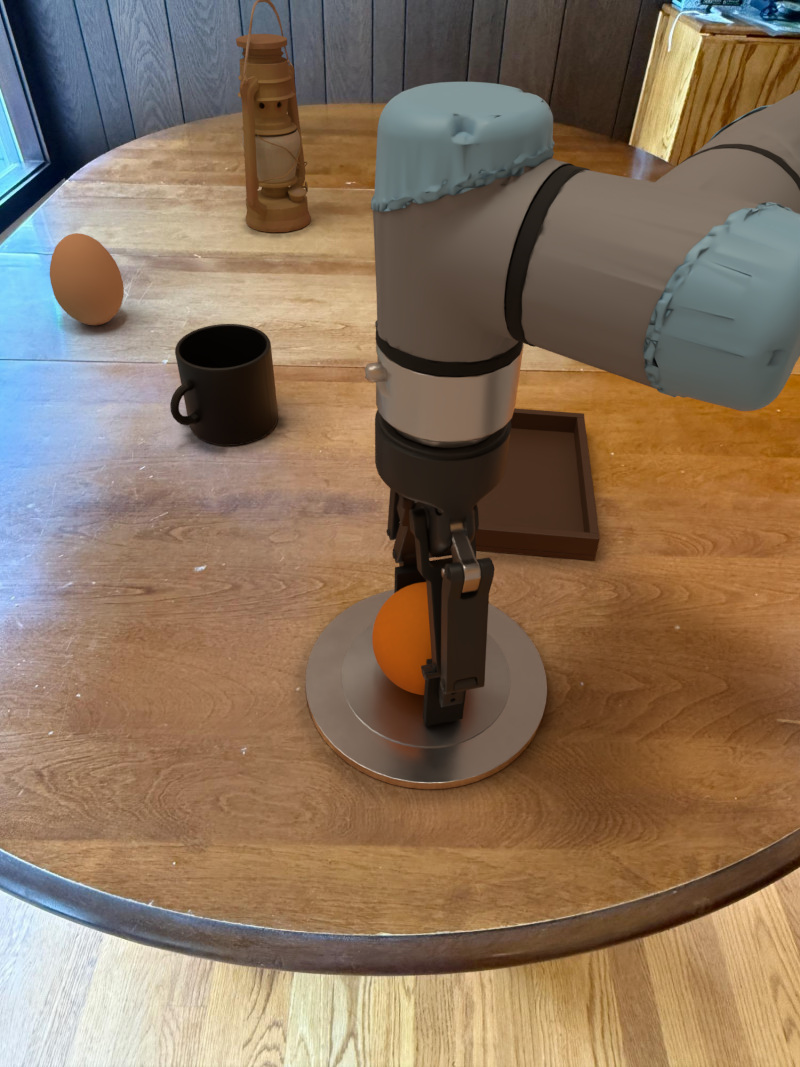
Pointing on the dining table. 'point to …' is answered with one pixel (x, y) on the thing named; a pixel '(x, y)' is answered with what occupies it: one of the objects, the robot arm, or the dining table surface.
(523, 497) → the tray
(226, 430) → the mug
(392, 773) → the plate
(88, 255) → the egg
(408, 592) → the orange
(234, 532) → the dining table surface
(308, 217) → the lantern
